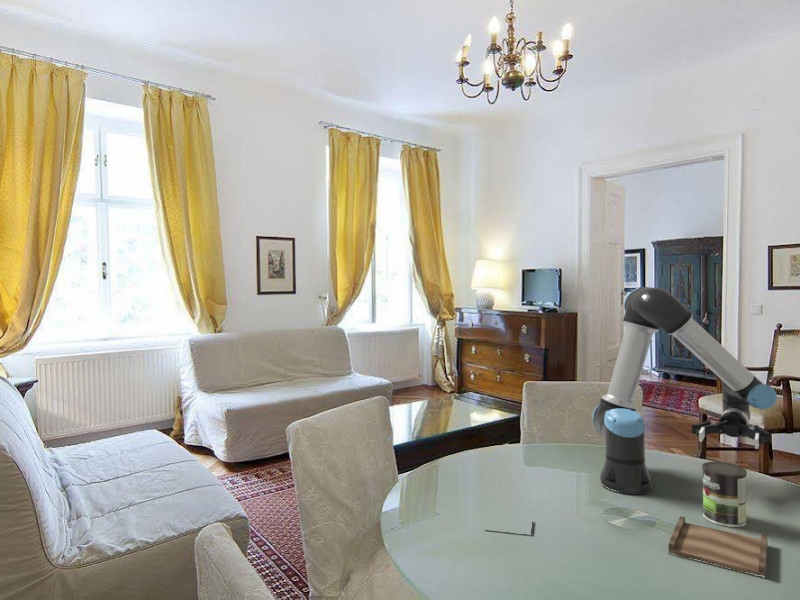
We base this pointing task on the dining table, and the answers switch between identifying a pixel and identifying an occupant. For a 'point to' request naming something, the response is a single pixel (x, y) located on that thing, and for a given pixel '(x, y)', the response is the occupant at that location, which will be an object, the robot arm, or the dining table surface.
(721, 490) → the coffee can
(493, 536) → the dining table surface
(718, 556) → the cradle
